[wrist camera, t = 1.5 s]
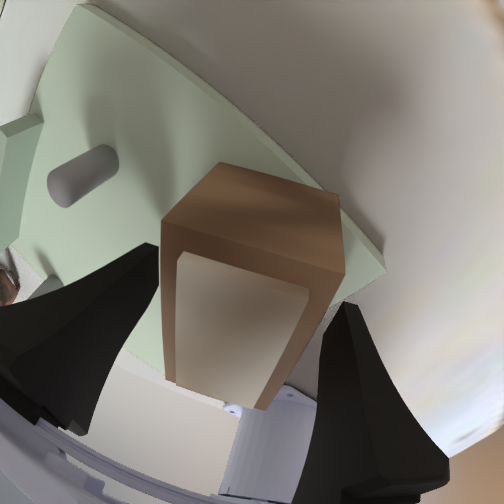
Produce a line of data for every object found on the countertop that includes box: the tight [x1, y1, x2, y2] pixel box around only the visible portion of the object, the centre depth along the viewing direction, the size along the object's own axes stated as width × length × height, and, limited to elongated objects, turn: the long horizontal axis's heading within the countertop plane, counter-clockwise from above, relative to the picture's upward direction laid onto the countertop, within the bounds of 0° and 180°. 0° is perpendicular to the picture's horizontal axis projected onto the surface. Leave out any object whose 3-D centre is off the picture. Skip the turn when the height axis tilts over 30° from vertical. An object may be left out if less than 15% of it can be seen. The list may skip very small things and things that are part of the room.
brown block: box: [160, 162, 346, 411], centre depth 11 cm, size 4×8×5 cm, turn 168°
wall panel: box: [0, 4, 387, 376], centre depth 14 cm, size 18×18×4 cm
